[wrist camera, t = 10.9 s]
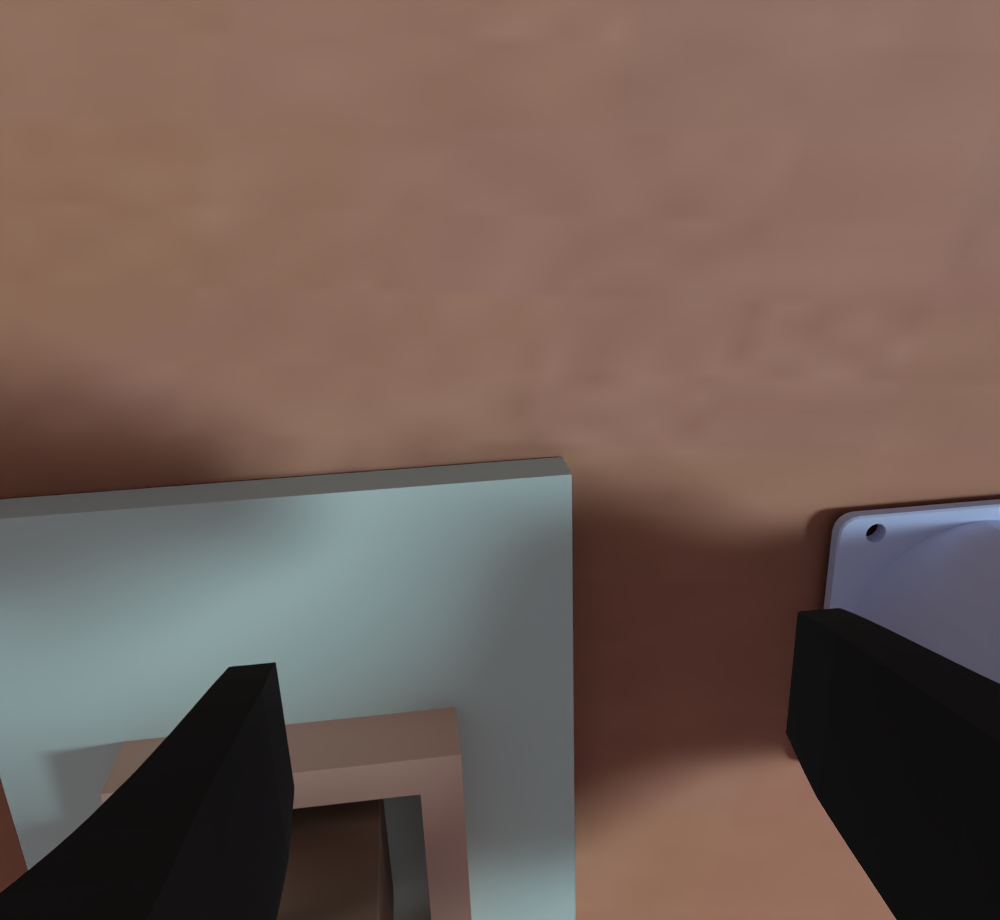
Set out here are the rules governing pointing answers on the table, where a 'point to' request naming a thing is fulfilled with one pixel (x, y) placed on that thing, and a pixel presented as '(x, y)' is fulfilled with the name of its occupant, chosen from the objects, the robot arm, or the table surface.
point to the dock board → (315, 658)
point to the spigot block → (338, 864)
